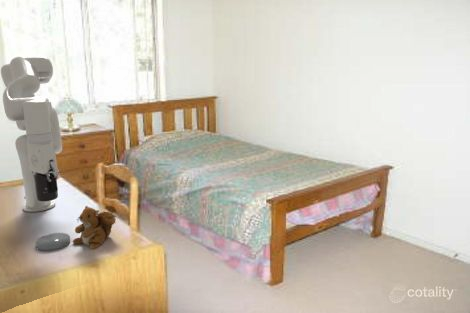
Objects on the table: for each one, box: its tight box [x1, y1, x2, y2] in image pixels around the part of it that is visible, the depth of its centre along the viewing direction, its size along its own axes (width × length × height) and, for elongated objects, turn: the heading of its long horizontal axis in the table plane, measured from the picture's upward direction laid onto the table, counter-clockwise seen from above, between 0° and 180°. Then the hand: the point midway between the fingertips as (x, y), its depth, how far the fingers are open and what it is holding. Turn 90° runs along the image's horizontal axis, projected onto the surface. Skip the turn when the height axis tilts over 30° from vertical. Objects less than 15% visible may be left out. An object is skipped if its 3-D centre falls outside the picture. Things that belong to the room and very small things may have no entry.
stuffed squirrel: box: [72, 205, 117, 250], centre depth 149 cm, size 10×14×13 cm
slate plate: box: [35, 232, 71, 252], centre depth 148 cm, size 11×11×2 cm
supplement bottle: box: [34, 170, 59, 201], centre depth 143 cm, size 7×7×12 cm
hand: (46, 189), depth 144 cm, fingers closed on supplement bottle, 6 cm apart
